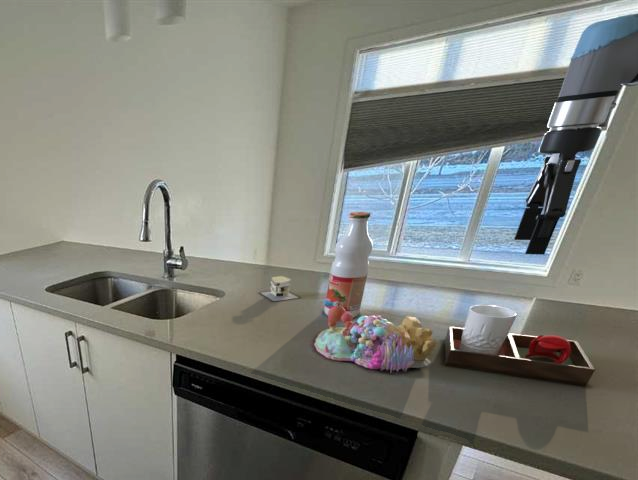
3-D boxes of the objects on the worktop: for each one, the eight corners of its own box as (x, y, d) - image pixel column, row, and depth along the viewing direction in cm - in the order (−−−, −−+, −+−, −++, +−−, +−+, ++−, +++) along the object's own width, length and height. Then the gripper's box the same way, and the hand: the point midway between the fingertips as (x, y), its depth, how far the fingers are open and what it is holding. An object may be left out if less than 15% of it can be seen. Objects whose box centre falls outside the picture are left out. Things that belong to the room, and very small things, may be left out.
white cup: (493, 347, 93) (510, 305, 88) (504, 362, 87) (523, 318, 82) (451, 343, 96) (466, 303, 91) (459, 358, 90) (474, 315, 85)
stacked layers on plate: (259, 292, 142) (261, 277, 139) (283, 289, 143) (285, 274, 140) (273, 301, 133) (275, 285, 131) (298, 297, 134) (301, 281, 132)
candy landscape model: (414, 332, 105) (424, 298, 100) (448, 376, 85) (462, 336, 81) (310, 329, 112) (315, 297, 107) (320, 369, 93) (326, 332, 88)
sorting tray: (568, 356, 88) (577, 340, 87) (585, 386, 78) (595, 369, 77) (444, 340, 100) (449, 326, 98) (445, 365, 90) (450, 349, 88)
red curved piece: (523, 351, 90) (535, 326, 87) (561, 357, 87) (574, 331, 84) (524, 365, 85) (536, 339, 82) (563, 372, 81) (577, 345, 78)
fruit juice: (362, 319, 115) (386, 214, 101) (327, 319, 117) (345, 216, 103) (353, 307, 123) (374, 209, 109) (320, 308, 125) (336, 211, 111)
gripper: (628, 125, 63) (568, 261, 74) (583, 124, 81) (539, 234, 92) (562, 131, 67) (514, 260, 78) (533, 129, 85) (497, 234, 95)
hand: (528, 246), depth 85 cm, fingers open, 13 cm apart
